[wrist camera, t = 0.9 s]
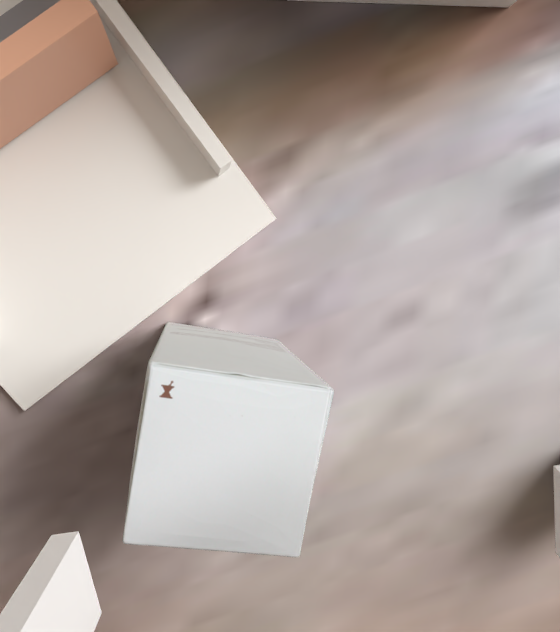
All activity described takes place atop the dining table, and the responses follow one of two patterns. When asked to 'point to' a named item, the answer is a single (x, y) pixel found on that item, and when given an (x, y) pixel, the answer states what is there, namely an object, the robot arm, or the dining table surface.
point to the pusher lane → (109, 214)
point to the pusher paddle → (47, 59)
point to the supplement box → (225, 444)
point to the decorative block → (433, 2)
